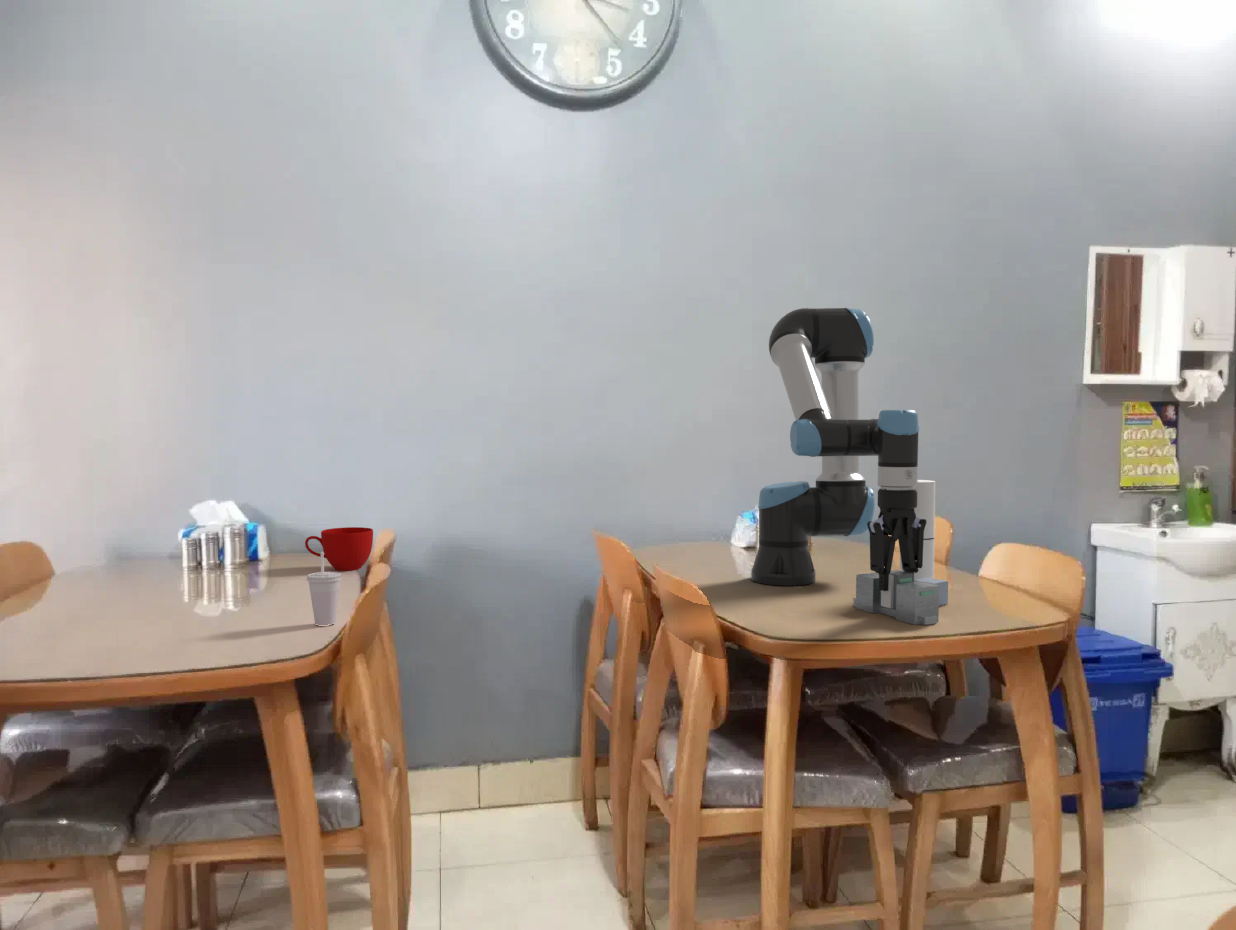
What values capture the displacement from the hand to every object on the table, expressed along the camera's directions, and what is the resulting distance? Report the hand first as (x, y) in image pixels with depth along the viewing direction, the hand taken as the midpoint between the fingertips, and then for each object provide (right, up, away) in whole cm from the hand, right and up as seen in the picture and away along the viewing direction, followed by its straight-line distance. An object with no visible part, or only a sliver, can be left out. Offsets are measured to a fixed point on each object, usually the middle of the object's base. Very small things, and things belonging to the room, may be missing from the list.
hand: (896, 605), depth 185 cm
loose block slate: (+10, -1, +11) cm, 15 cm away
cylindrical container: (+11, -1, +21) cm, 24 cm away
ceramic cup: (-127, +1, +57) cm, 139 cm away
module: (0, 0, 0) cm, 0 cm away
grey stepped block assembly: (0, -2, +1) cm, 2 cm away
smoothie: (-111, -3, -6) cm, 112 cm away
